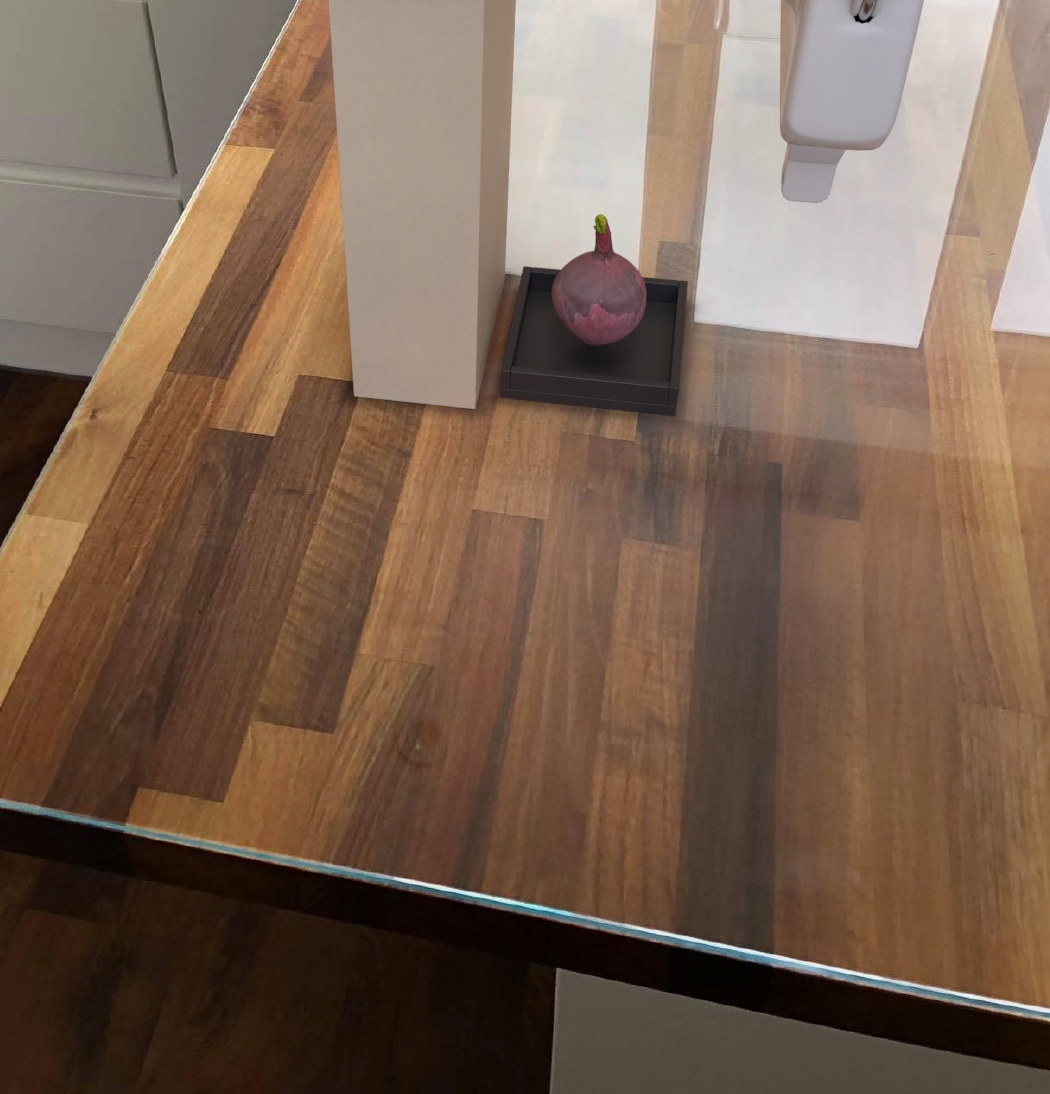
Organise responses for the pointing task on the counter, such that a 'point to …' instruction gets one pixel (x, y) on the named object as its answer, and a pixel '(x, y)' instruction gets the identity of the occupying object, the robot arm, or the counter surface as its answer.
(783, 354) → the counter surface
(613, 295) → the vegetable
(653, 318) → the pan
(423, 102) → the column
